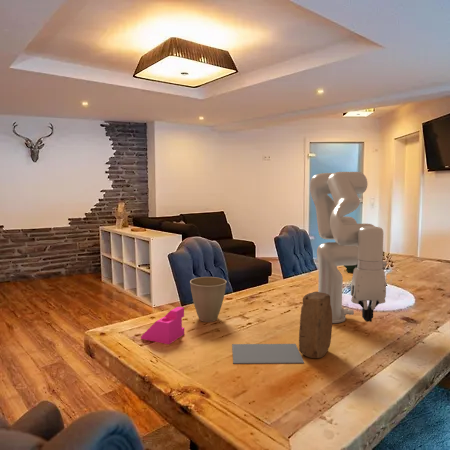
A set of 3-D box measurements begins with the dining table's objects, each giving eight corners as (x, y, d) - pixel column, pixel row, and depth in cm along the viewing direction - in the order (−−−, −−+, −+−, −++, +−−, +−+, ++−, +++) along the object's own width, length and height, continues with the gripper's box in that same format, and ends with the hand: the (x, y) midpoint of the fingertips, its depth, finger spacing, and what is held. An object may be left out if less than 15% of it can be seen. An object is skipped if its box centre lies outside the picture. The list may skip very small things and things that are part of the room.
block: (315, 361, 121) (319, 299, 119) (295, 353, 126) (298, 294, 124) (333, 352, 128) (337, 293, 126) (314, 344, 134) (317, 288, 132)
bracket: (184, 334, 144) (184, 307, 143) (168, 344, 135) (168, 316, 134) (157, 329, 149) (157, 303, 148) (140, 338, 140) (140, 311, 139)
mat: (295, 344, 134) (295, 343, 134) (304, 363, 120) (304, 362, 120) (232, 345, 134) (232, 344, 134) (233, 363, 120) (233, 362, 120)
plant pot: (197, 327, 150) (197, 287, 148) (185, 315, 164) (185, 278, 162) (232, 322, 156) (232, 283, 154) (218, 311, 170) (218, 275, 168)
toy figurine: (352, 269, 259) (338, 272, 239) (354, 240, 258) (340, 242, 238) (366, 270, 253) (353, 274, 233) (368, 242, 253) (355, 243, 233)
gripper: (387, 262, 128) (385, 316, 130) (342, 262, 128) (341, 316, 130) (398, 267, 121) (395, 324, 123) (350, 267, 121) (348, 324, 123)
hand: (367, 320), depth 126 cm, fingers closed
